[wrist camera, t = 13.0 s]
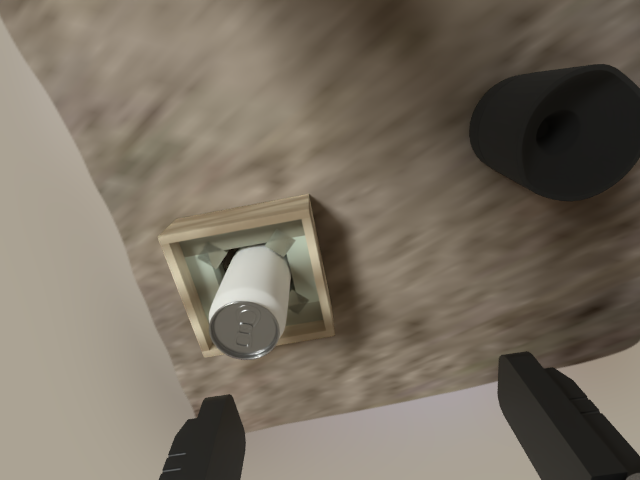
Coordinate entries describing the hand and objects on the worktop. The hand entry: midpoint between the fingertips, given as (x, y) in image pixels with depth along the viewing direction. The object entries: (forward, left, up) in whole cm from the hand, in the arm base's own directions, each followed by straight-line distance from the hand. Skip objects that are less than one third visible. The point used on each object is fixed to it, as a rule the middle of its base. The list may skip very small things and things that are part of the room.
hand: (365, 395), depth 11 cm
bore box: (+8, -9, -28) cm, 30 cm away
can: (+8, -9, -28) cm, 30 cm away
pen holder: (-2, +18, -28) cm, 34 cm away
